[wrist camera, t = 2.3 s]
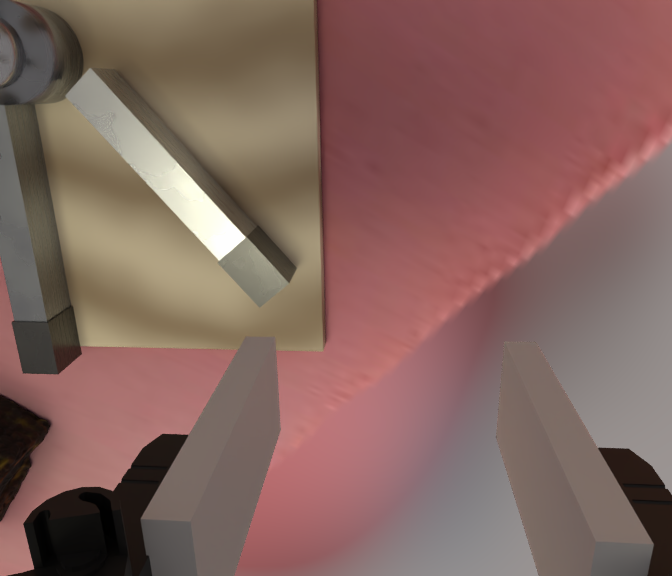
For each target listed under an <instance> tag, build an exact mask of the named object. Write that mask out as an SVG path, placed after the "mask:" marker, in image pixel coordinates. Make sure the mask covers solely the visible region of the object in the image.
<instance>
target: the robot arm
mask: <svg viewBox="0 0 672 576" xmlns="http://www.w3.org/2000/svg"><path fill="white" fill-rule="evenodd" d="M503 352H504V353H503V364H502V374H501V386H500V397H499V409H498V421H497V433H496V438H497V442H498V445H499V448H500V452H501V455H502V458H503V461H504V464H505V468H506V471H507V474H508V477H509V481H510V484H511V487H512V490H513V494H514V497H515V500H516V503H517V507H518V509H519V513H520V516H521V520H522V523H523V526H524V529H525V533H526V536H527V539H528V542H529V545H530V549H531V552H532V555H533V559H534V562H535V565H536V568H537V571H538V575H539V576H672V495H671V493H670V492H669V490H668V489H665V485H664V483H663V482H662V480H661V479H660V478H659V476H658V475H657V473H656V472H655V470H654V469H653V467H652V466H651V465H650V464H648V463H647V462H646V461H644V460H643V459H642V458H640V457H639V456H638V455H636V454H635V453H634V452H632V451H631V450H630V449H621V448H620V449H619V448H597V446H596V444H595V443H594V441H593V439H592V437H591V436H590V434H589V432H588V430H587V429H586V427H585V425H584V424H583V422H582V420H581V419H580V417H579V415H578V413H577V412H576V410H575V408H574V406H573V405H572V403H571V401H570V400H569V398H568V396H567V394H566V393H565V391H564V389H563V388H562V386H561V384H560V382H559V381H558V379H557V377H556V376H555V374H554V372H553V370H552V369H551V367H550V365H549V364H548V362H547V360H546V359H545V357H544V355H543V353H542V352H541V350H540V348H539V346H538V345H537V343H536V342H504V351H503ZM280 430H281V428H280V411H279V393H278V376H277V358H276V341H275V337H249V336H246V337H245V339H244V341H243V342H242V344H241V346H240V348H239V349H238V351H237V353H236V355H235V356H234V358H233V360H232V361H231V363H230V365H229V367H228V368H227V370H226V372H225V374H224V375H223V377H222V379H221V381H220V382H219V384H218V386H217V387H216V389H215V391H214V393H213V394H212V396H211V398H210V400H209V401H208V403H207V405H206V406H205V408H204V410H203V412H202V413H201V415H200V417H199V419H198V420H197V422H196V424H195V425H194V427H193V429H192V431H191V432H190V434H189V435H178V434H162V435H160V436H159V437H158V438H156V439H155V440H153V441H152V442H151V443H149V444H148V445H147V446H145V447H144V448H143V449H142V450H141V452H140V453H139V455H138V456H137V457H136V459H135V460H134V462H133V463H132V465H131V469H128V471H127V472H126V474H125V475H124V476H123V478H122V481H121V483H119V484H118V485H117V487H116V488H115V490H114V491H111V490H107V489H104V488H101V487H81V488H77V489H73V490H69V491H65V492H63V493H60V494H58V495H56V496H54V497H52V498H50V499H48V500H46V501H45V502H44V503H42V504H41V505H40V506H38V507H37V508H36V509H34V510H33V511H32V512H31V514H30V515H29V517H28V518H27V519H26V521H25V522H24V528H25V532H26V536H27V540H28V545H29V549H30V553H31V557H32V561H33V565H34V569H33V570H30V571H26V572H23V573H18V574H13V575H8V576H234V575H235V571H236V568H237V565H238V562H239V559H240V556H241V552H242V549H243V546H244V543H245V540H246V537H247V534H248V531H249V527H250V524H251V521H252V518H253V515H254V512H255V508H256V505H257V502H258V499H259V496H260V493H261V490H262V487H263V483H264V480H265V477H266V474H267V471H268V468H269V465H270V461H271V458H272V455H273V452H274V449H275V446H276V443H277V439H278V436H279V433H280Z"/></svg>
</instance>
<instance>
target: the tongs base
mask: <svg viewBox="0 0 672 576" xmlns="http://www.w3.org/2000/svg"><path fill="white" fill-rule="evenodd" d="M0 17H1V18H3V19H4V20H6V21H7V22H8V23H9V24H10V25H11V26H12V27H13V28H14V29H15V30H16V32H17V33H18V35H19V37H20V39H21V41H22V44H23V47H24V52H25V65H24V69H23V72H22V74H21V76H20V78H19V79H18V80H17V81H16V82H15V83H14V84H12V85H11V86H9V87H6V88H1V89H0V257H1V261H2V266H3V270H4V275H5V279H6V284H7V289H8V293H9V298H10V302H11V307H12V312H13V316H14V321H13V322H12V326H13V330H14V335H15V339H16V344H17V348H18V353H19V358H20V362H21V367H22V371H23V373H30V374H59V373H60V372H61V371H63V370H64V369H65V368H66V367H67V366H68V365H69V364H71V363H72V362H73V361H74V360H75V359H76V358H78V357H79V356H80V355H81V354H82V353H81V347H80V342H79V336H78V331H77V325H76V320H75V314H74V309H73V306H71V301H70V296H69V290H68V285H67V279H66V274H65V268H64V263H63V257H62V252H61V246H60V241H59V235H58V230H57V224H56V219H55V213H54V208H53V202H52V197H51V191H50V186H49V180H48V175H47V169H46V164H45V158H44V153H43V147H42V142H41V136H40V131H39V125H38V120H37V114H36V109H35V104H50V103H56V102H59V101H62V100H64V99H66V97H65V95H66V94H67V93H68V92H69V91H70V90H71V89H72V87H73V86H74V85H75V84H76V83H77V82H78V81H79V80H80V79H81V77H82V73H83V62H84V61H83V53H82V48H81V45H80V42H79V40H78V38H77V36H76V34H75V33H74V31H73V29H72V28H71V27H70V25H69V24H68V23H67V22H66V21H65V20H64V19H63V18H61V17H60V16H59V15H57V14H56V13H54V12H53V11H50V10H48V9H45V8H42V7H38V6H34V5H30V4H26V3H21V2H17V1H13V0H0Z"/></svg>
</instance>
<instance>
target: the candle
mask: <svg viewBox="0 0 672 576" xmlns="http://www.w3.org/2000/svg"><path fill="white" fill-rule="evenodd" d="M49 427H50V424H49V423H48V422H47V420H43V419H39V418H38V417H37V416H35V415H34V414H33V413H31V412H29V411H26V410H24V409H22V408H20V407H19V406H18V405H17V404H15V403H14V402H13V401H10V400H8V399H5V398H3V397H1V396H0V521H1V520H2V518H3V516H4V514H5V512H6V510H7V508H8V507H9V505H10V502H11V501H12V500H14V497H15V495H16V494H17V492H18V490H19V487H20V485H21V482H22V481H23V480H24V479H25V477H26V475H27V469H29V468H30V467H31V464H30V461H29V454H30V453H31V452H32V451H33V450H34V449H35V447H37V446H38V445H39V444H40V443H41V442H42V441H43V440H44V437H45V435H46V434H47V433H48V429H49Z"/></svg>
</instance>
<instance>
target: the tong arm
mask: <svg viewBox="0 0 672 576" xmlns="http://www.w3.org/2000/svg"><path fill="white" fill-rule="evenodd" d="M24 65H25V52H24V47H23V44H22V41H21V39H20V37H19V35H18V33H17V32H16V30H15V29H14V28H13V27H12V26H11V25H10V24H9V23H8V22H7V21H6V20H4V19H3V18H1V17H0V89H1V88H6V87H9V86H11V85H12V84H14V83H15V82H16V81H17V80H18V79H19V78H20V76H21V74H22V72H23V69H24ZM65 97H66V98H67V99H68V100H69V101H70V102H71V103H72V104H73V105H74V106H75V107H76V108H77V109H78V110H79V112H80V113H81V114H82V115H83V116H84V117H85V118H86V119H87V120H88V121H89V122H90V123H91V124H92V125H93V126H94V128H95V129H96V130H97V131H98V132H99V133H100V134H101V135H102V136H103V137H104V138H105V139H106V140H107V141H108V142H109V144H110V145H111V146H112V147H113V148H114V149H115V150H116V151H117V152H118V153H119V154H120V155H121V156H122V157H123V159H124V160H125V161H126V162H127V163H128V164H129V165H130V166H131V167H132V168H133V169H134V170H135V171H136V172H137V173H138V175H139V176H140V177H141V178H142V179H143V180H144V181H145V182H146V183H147V184H148V185H149V186H150V187H151V188H152V189H153V191H154V192H155V193H156V194H157V195H158V196H159V197H160V198H161V199H162V200H163V201H164V202H165V203H166V204H167V205H168V207H169V208H170V209H171V210H172V211H173V212H174V213H175V214H176V215H177V216H178V217H179V218H180V219H181V220H182V222H183V223H184V224H185V225H186V226H187V227H188V228H189V229H190V230H191V231H192V232H193V233H194V234H195V235H196V236H197V238H198V239H199V240H200V241H201V242H202V243H203V244H204V245H205V246H206V247H207V248H208V249H209V250H210V251H211V252H212V254H213V255H214V256H215V257H216V258H217V259H218V260H219V262H218V264H219V265H220V266H221V267H222V268H223V269H224V270H225V271H226V272H227V274H228V275H229V276H230V277H231V278H232V279H233V280H234V281H235V282H236V283H237V284H238V285H239V286H240V287H241V288H242V290H243V291H244V292H245V293H246V294H247V295H248V296H249V297H250V298H251V299H252V300H253V301H254V302H255V303H256V304H257V306H258V307H259V308H260V307H261V306H262V305H264V304H265V303H266V302H267V301H269V300H270V299H271V298H272V297H273V296H275V295H276V294H277V293H278V292H279V291H281V290H282V289H283V288H284V287H286V286H287V285H288V284H289V283H290V281H291V279H292V277H293V275H294V273H295V271H296V269H297V267H296V266H295V265H294V264H293V263H292V262H291V261H290V260H289V259H288V258H287V256H286V255H285V254H284V253H283V252H282V251H281V250H280V249H279V248H278V246H277V245H276V244H275V243H274V242H273V241H272V240H271V239H270V238H269V236H268V235H267V234H266V233H265V232H264V231H263V230H262V229H261V228H260V227H259V225H258V226H256V225H255V224H254V223H253V222H252V220H251V219H250V218H249V217H248V216H247V215H246V214H245V213H244V212H243V210H242V209H241V208H240V207H239V206H238V205H237V204H236V203H235V202H234V201H233V199H232V198H231V197H230V196H229V195H228V194H227V193H226V192H225V191H224V189H223V188H222V187H221V186H220V185H219V184H218V183H217V182H216V181H215V180H214V178H213V177H212V176H211V175H210V174H209V173H208V172H207V171H206V170H205V168H204V167H203V166H202V165H201V164H200V163H199V162H198V161H197V160H196V159H195V157H194V156H193V155H192V154H191V153H190V152H189V151H188V150H187V149H186V147H185V146H184V145H183V144H182V143H181V142H180V141H179V140H178V139H177V138H176V136H175V135H174V134H173V133H172V132H171V131H170V130H169V129H168V128H167V127H166V125H165V124H164V123H163V122H162V121H161V120H160V119H159V118H158V117H157V115H156V114H155V113H154V112H153V111H152V110H151V109H150V108H149V107H148V106H147V104H146V103H145V102H144V101H143V100H142V99H141V98H140V97H139V96H138V94H137V93H136V92H135V91H134V90H133V89H132V88H131V87H130V86H129V85H128V83H127V82H126V81H125V80H124V79H123V78H122V77H121V76H120V75H119V73H118V72H117V71H116V70H115V69H102V68H89V70H88V71H87V72H86V73H85V74H84V75H83V76H82V77H81V79H80V80H79V81H78V82H77V83H76V84H75V85H74V86H73V87H72V89H71V90H70V91H69V92H68V93H67V94H66V95H65Z"/></svg>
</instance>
